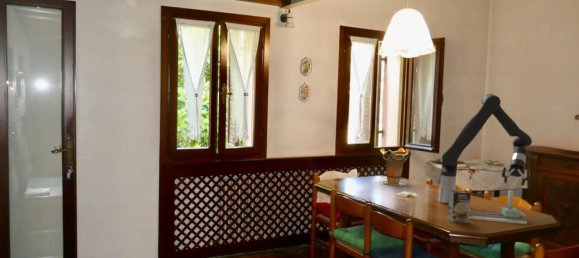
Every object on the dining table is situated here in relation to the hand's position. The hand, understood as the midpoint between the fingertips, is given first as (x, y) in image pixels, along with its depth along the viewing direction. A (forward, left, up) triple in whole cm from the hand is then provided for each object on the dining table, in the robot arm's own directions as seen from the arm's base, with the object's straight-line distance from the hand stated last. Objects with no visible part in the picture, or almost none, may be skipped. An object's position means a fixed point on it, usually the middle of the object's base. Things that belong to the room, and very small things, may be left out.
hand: (513, 184), depth 255 cm
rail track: (-12, -10, -19) cm, 24 cm away
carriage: (-4, -10, -16) cm, 20 cm away
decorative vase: (-62, +75, -19) cm, 99 cm away
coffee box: (-34, -23, -19) cm, 45 cm away
